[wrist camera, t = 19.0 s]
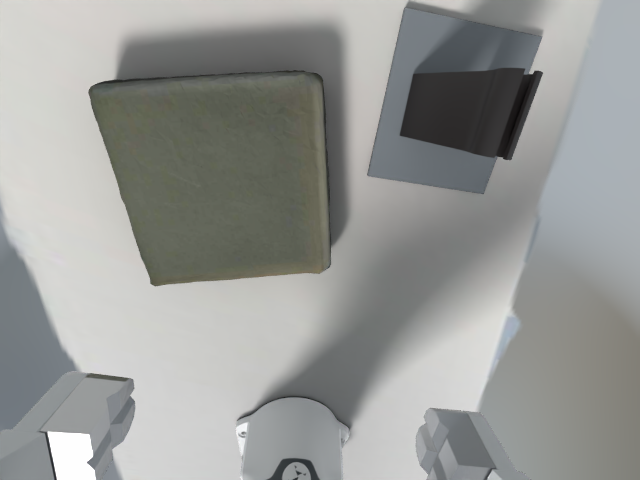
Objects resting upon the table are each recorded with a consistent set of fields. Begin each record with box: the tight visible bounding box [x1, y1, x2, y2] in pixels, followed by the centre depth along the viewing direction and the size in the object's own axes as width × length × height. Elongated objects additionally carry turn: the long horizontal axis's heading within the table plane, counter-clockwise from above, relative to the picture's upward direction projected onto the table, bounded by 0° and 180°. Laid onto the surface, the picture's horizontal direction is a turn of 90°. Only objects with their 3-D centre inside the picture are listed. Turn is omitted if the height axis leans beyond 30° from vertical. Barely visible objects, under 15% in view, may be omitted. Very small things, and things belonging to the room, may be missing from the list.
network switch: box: [89, 70, 331, 286], centre depth 34 cm, size 23×23×5 cm
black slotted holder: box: [399, 68, 543, 160], centre depth 28 cm, size 9×6×12 cm, turn 82°
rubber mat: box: [367, 8, 542, 194], centre depth 34 cm, size 16×14×1 cm
